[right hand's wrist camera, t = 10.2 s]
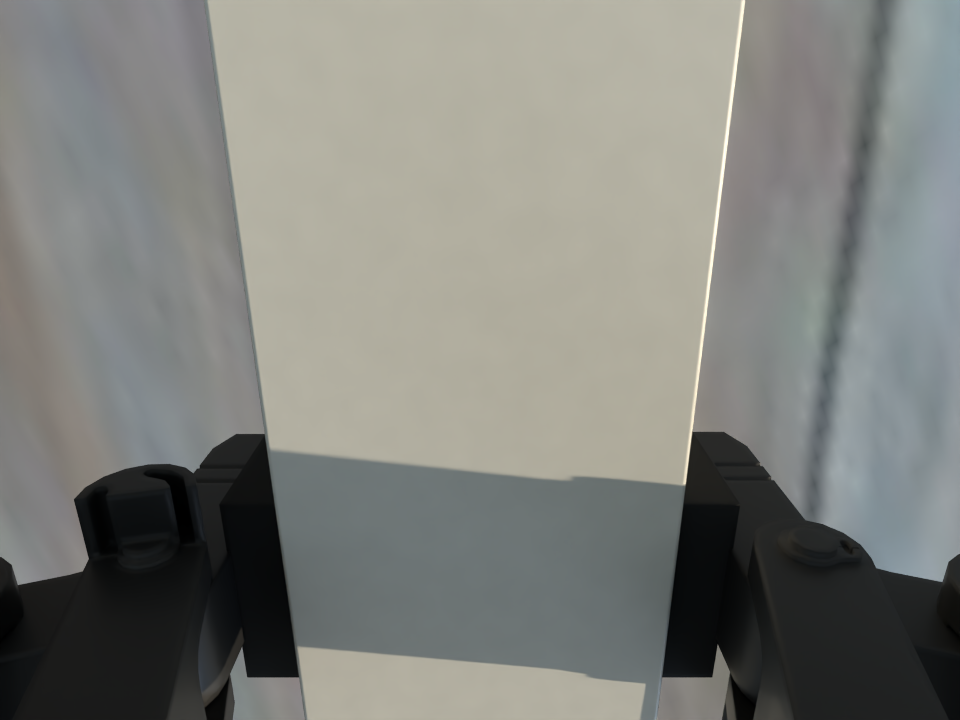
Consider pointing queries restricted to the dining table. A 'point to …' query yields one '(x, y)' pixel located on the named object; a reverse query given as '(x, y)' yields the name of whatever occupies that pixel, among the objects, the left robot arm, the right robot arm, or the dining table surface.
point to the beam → (477, 334)
